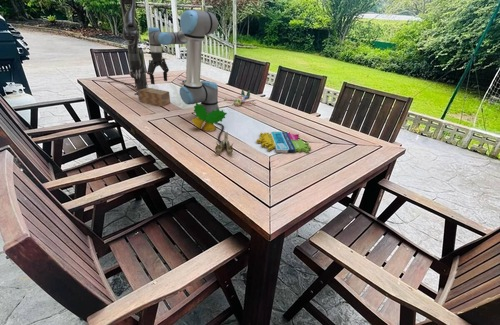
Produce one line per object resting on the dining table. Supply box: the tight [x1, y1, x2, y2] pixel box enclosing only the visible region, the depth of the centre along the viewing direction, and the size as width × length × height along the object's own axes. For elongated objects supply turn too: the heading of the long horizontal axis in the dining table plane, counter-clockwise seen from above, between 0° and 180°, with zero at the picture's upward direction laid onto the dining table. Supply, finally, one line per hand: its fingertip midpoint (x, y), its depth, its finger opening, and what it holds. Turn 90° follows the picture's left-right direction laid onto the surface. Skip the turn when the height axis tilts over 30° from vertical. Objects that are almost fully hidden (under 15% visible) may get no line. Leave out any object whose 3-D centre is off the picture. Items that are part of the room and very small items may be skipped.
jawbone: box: [214, 131, 234, 156], centre depth 136 cm, size 9×15×10 cm
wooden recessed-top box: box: [139, 87, 171, 107], centre depth 202 cm, size 20×10×9 cm, turn 66°
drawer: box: [133, 90, 140, 101], centre depth 204 cm, size 25×9×7 cm, turn 66°
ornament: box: [191, 102, 228, 132], centre depth 162 cm, size 21×8×15 cm, turn 105°
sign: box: [256, 131, 312, 154], centre depth 152 cm, size 26×2×30 cm
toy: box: [223, 89, 257, 106], centre depth 219 cm, size 28×7×30 cm
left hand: (137, 83), depth 203 cm, fingers closed
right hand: (159, 82), depth 195 cm, fingers open, 13 cm apart
